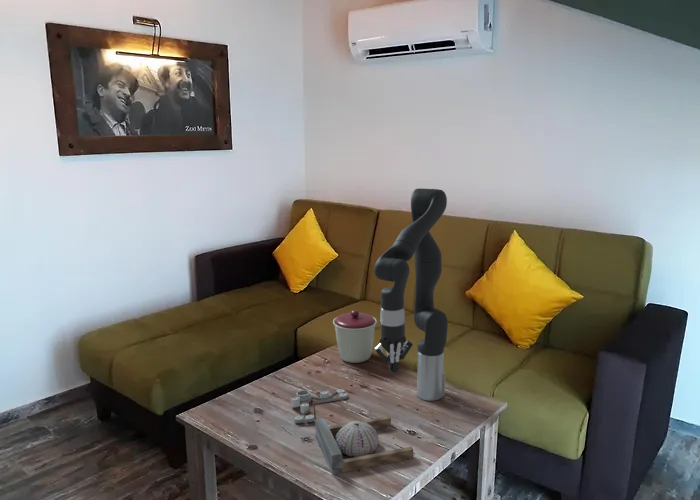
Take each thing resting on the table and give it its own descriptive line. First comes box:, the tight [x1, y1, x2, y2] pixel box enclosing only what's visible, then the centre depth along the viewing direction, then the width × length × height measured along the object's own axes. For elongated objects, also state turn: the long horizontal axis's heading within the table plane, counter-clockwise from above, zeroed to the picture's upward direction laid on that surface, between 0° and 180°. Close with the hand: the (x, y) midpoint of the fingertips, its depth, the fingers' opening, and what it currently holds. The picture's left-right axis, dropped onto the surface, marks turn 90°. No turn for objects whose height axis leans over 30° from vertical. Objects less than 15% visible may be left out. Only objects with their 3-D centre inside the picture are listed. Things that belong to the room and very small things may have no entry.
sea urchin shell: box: [334, 420, 380, 458], centre depth 174 cm, size 13×14×8 cm
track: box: [314, 415, 414, 475], centre depth 174 cm, size 25×20×6 cm
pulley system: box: [290, 388, 349, 424], centre depth 201 cm, size 27×5×15 cm
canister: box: [332, 309, 378, 364], centre depth 236 cm, size 18×18×21 cm
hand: (393, 372), depth 180 cm, fingers closed
